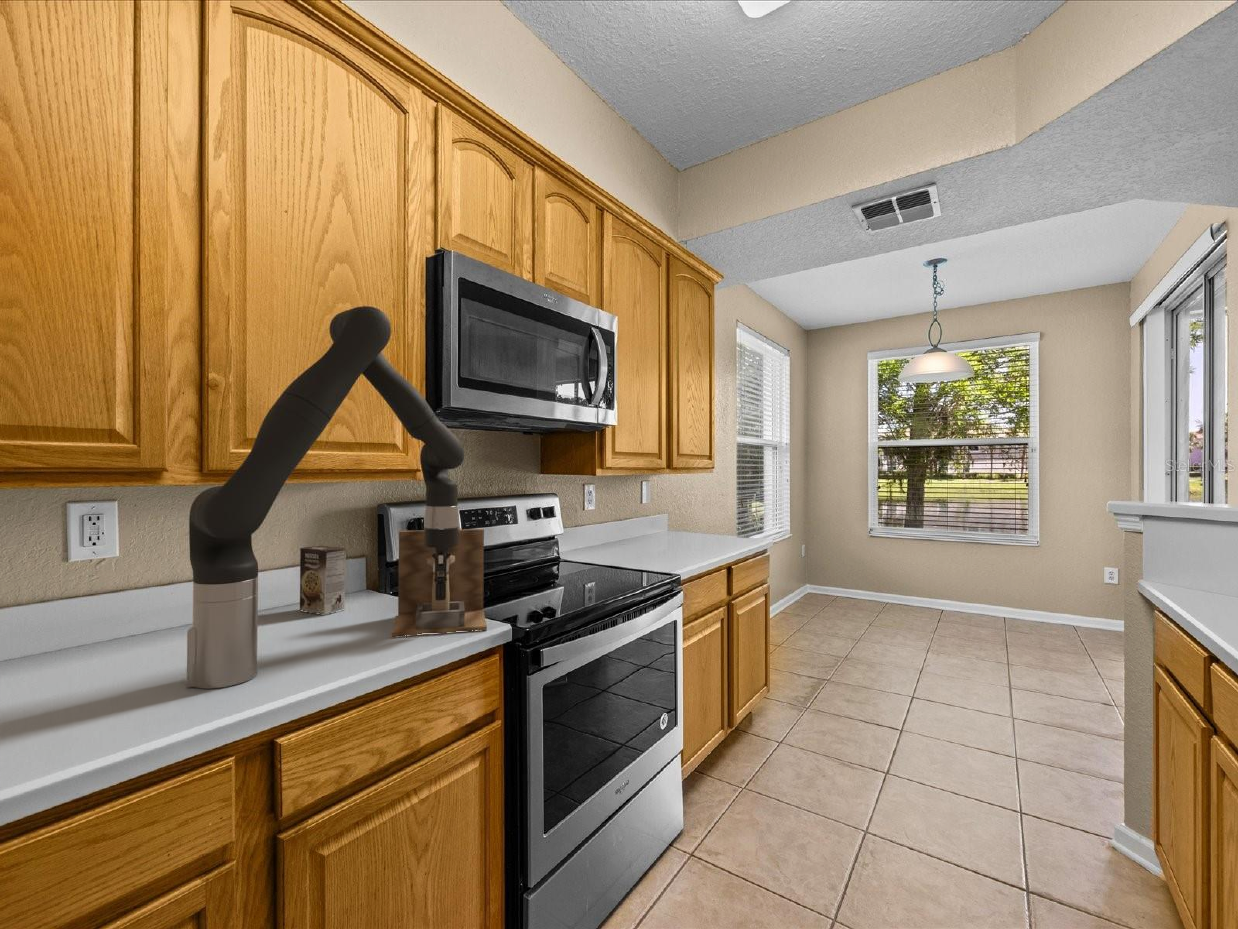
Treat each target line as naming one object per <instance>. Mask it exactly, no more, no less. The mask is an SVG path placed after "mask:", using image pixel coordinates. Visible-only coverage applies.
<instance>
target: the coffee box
mask: <svg viewBox="0 0 1238 929" xmlns="http://www.w3.org/2000/svg"><path fill="white" fill-rule="evenodd" d="M299 550H300V553H299V554H300V555H299V557H300V559H299V561H300V562H299V563H300V564H299V568H300V569H299V611H300V610H303V611H307V612H311V613H319V614H323V615H322V616H324V615H325V614H328V613H332V614H334V613H333V612H336V611H339V610H342V609H344V610H345V599H346V598H345V596H346V560H347V557H346V555H347V548H346V547H338V546H329V545H323V544H322V545H317V546H316V545H315V546H306V547H305V546H304V547H301V548H300V549H299ZM311 613H310V614H311ZM336 613H337V612H336ZM325 616H326V615H325Z"/></svg>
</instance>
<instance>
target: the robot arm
mask: <svg viewBox="0 0 1238 929" xmlns="http://www.w3.org/2000/svg"><path fill="white" fill-rule="evenodd" d="M391 327H392V326H391V323H390V319H389V318H388V316H387V314H386V313H385V312H383V311H382V310H381V309H380V308H377V307H375V306H368V305H362V306H356V307H353V308H350V309H347V310H344V311H340V312H338V313H337V314H336V315H334V317H333V318H332V319H331V320H330V324H329V328H328V329H329V336H330V339H331V340H332V344H331V346H330V347H329V349H327V351H326V352H325V353H324V354H323V355H322V356H321V357H320V358H319V359H318V360H317V361H316V362H314V363H313V364H311V366H309V367H308V368H307V369H305V370H304V371H303V372H302V373H301V374H300V375H299V376H298V377H296V378H295V379H294V380H293V381H292V382H291V383H290V384H289V385H288V386H287V387H286V388H285V389H284V390H283V392H282V393H281V394H280V396H279V397H278V398H277V399H276V401H275V403H273V405H272V406H271V408H270V409H269V410H268V412H267V414H266V415H265V417H264V419H263V420H262V423H261V425H260V428H259V430H258V431H257V435H256V438H255V440H254V443H253V445H252V447H251V450H250V452H249V453H248V455H247V457H246V459H245V460H244V461H243V462H242V464H240V466H239V467H238V468H237V469H236V471H235V472H234V473H233V474H232V475H231V476H230V478H229V479H228V480H227V481H226V482H225V483H224V484H223V485H218V486H213V487H209V488H207V489H205V490H204V491H202V492H200V493H198V495H197V496H196V497H195V498H194V500H193V502H192V504H191V506H190V508H189V519H188V523H189V524H188V530H189V531H188V538H189V543H188V544H189V561H190V566H191V569H192V581H193V582H192V585H193V586H192V627H189V628H188V629H187V633H186V634H187V635H186V638H187V639H186V643H187V644H186V688H198V689H220V688H225V687H231V686H235V685H239V684H242V683H245V682H247V681H249V680H252V679H253V678H255V677H256V676H257V674H258V627H259V626H258V622H259V621H258V617H259V616H258V614H259V611H258V610H259V609H258V608H259V606H258V604H259V562H258V560H257V558H256V556H255V554H254V550H253V545H252V543H253V542H252V539H253V538H252V535H253V534H254V533H255V532H256V531H257V530H258V529H259V528H260V527H261V526H262V524H263V522H264V521H265V519H266V517H267V516H268V513H269V512H270V511H271V509H272V506H273V504H274V502H275V501H276V499H277V498H278V495H279V493H281V490H282V488H283V486H284V485H285V483H286V481H287V480H288V479H289V477H291V474H292V473H293V471H294V470H295V469H296V468H297V467H298V465H299V464H300V463H301V461H302V460H303V459H304V457H305V456H306V455H307V453H308V452H309V450H310V449H311V448H312V447H313V445H314V443H315V442H316V441H317V440H318V439H319V437H320V436H321V435H322V433H323V432H324V430H325V429H326V427H327V426H328V424H329V423H330V422H331V420H332V419H333V417H334V415H335V414H336V412H337V411H338V410H339V408H340V406H341V405H342V404H343V402H344V400H345V399H346V398H347V396H348V395H349V393H350V391H351V390H352V388H353V387H354V385H355V383H356V382H357V380H358V379H359V378H360V376H361V375H362V376H364V378H365V379H366V380H367V381H368V382H369V383H370V384H371V385H372V387H373V388H374V389H375V390H376V391H377V392H378V393H379V394H380V396H381V397H382V399H383V400H384V401H385V403H386V404H387V405H388V406H389V407H390V409H391V410H392V412H393V413H394V414H395V416H396V418H397V419H398V420H399V422H400V423H401V424H402V426H403V427H404V429H405V430H406V431H407V433H408V434H409V435H410V437H412V438H413V439H415V440H418V441H421V442H422V443H423V444H422V447H421V450H420V452H419V453H420V454H419V455H420V456H419V461H420V462H419V464H420V468H421V469H420V470H421V472H422V476H423V481H424V484H425V489H426V490H425V511H424V529H423V530H424V545H425V546H426V547H430V548H435V549H436V554H433V555H432V559H435V564H434V563H433V574H434V575H435V578H434V582H435V584H436V594H435V599H436V600H437V601H439V600H445V599H446V581H447V578H446V577H447V574H448V573H449V562H450V553H447V550H448V547H454V546H457V545H458V533H459V530H460V529H459V524H460V522H459V518H460V517H459V515H460V514H459V508H458V503H459V499H458V496H459V495H458V492H459V489H458V488H459V487H458V484H457V482H456V481H454V480H452V479H451V478H450V476H449V471H448V470H455V469H457V468H460V466H461V465H462V464H463V462H464V459H465V452H464V448H463V445H462V443H461V442H460V440H459V439H458V437H457V436H456V435H455V434H454V433H453V432H452V431H451V430H450V429H449V428H448V427H447V426H446V425H445V424H444V423H442V422H441V420H439V419H438V418H437V415H436V414H435V413H434V411H433V409H432V408H431V407H430V405H429V403H428V402H427V400H426V399H425V398H424V396H423V395H422V393H420V392H419V390H418V389H417V388H416V387H415V386H413V384H411V383H410V381H408V380H407V379H406V378H405V377H404V376H402V375H401V374H400V372H398V371H397V370H396V368H394V367H393V365H391V363H390V362H389V361H388V360H387V358H386V357H385V356H384V354H383V352H382V351H383V350H384V349H385V348H386V347H387V345H388V343H389V342H390V339H391V334H392V328H391ZM440 574H444V576H442V577H437V576H438V575H440Z"/></svg>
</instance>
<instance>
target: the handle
mask: <svg viewBox="0 0 1238 929" xmlns="http://www.w3.org/2000/svg"><path fill="white" fill-rule="evenodd" d="M454 561H455V556H453V555H450V562H449V565H451V564H452V563H453V562H454ZM433 563H434V564H435V559H432V557H428V558H427V564H429V565H430V566H432V567H433ZM442 576H444V574H440V575H438V576H437V577H442ZM434 578H435V575H434V574H433V587H432V611H446V610H449V604H450V597H449V596H450V593H449V573H448V574H447V577H446V578H447V581H446V599H445V600H439V601H437V600H436V599H435V594H436V584H435V582H434Z"/></svg>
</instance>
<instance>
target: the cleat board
mask: <svg viewBox="0 0 1238 929" xmlns="http://www.w3.org/2000/svg"><path fill="white" fill-rule="evenodd" d="M484 542H485V529H484V528H479V529H478V528H473V529H472V528H470V529H466V528H464V529H459V533H458V545H457V546H454V547H448V550H447V553H450V555H453V556H455V561H454V562H453V563H452V564H451V565H449V593H450V596H449V597H450V604H449V610H446V611H432V587H433V567H432V566H430V565H429V564H427V558H428V557H432V555H433V554H436V549H435V548H430V547H426V546H425V545H424V529H422V530H419V529H418V530H417V529H416V530H399V531H398V575H397V576H398V579H397V580H398V582H397V583H398V586H397V587H398V588H397V590H398V591H397V592H398V593H397V594H398V595H397V597H398V598H397V600H398V602H397V603H398V604H397V617H396V619H395V622H394V624H393V628H392V630H391V638H397V637H396V636H405V635H406V637H408V636H407V635H417V634H422V633H447V632H456V631H472V630H473V631H475V630H488V628H487V626H488V625H487V621H486V617H485V613H484V612H485V611H484V566H485V565H484V564H485V563H484V562H485V561H484V559H485V557H484V556H485V555H484V554H485V553H484V550H485V549H484V548H485V543H484Z"/></svg>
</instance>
